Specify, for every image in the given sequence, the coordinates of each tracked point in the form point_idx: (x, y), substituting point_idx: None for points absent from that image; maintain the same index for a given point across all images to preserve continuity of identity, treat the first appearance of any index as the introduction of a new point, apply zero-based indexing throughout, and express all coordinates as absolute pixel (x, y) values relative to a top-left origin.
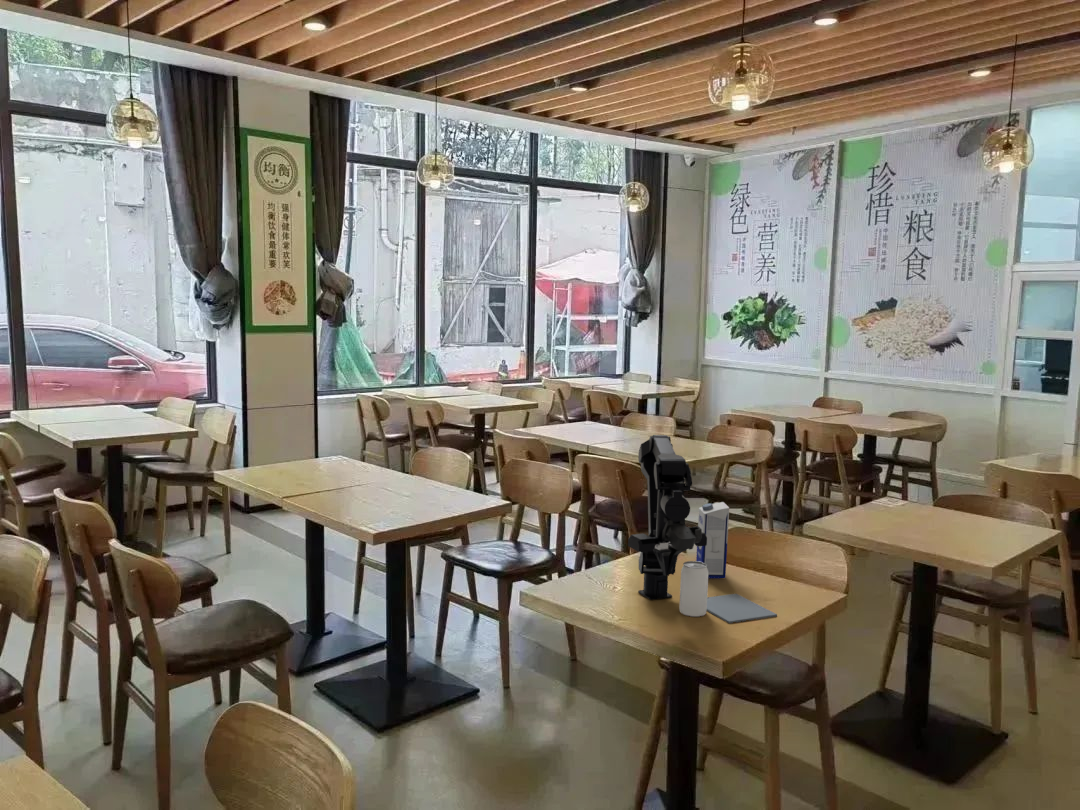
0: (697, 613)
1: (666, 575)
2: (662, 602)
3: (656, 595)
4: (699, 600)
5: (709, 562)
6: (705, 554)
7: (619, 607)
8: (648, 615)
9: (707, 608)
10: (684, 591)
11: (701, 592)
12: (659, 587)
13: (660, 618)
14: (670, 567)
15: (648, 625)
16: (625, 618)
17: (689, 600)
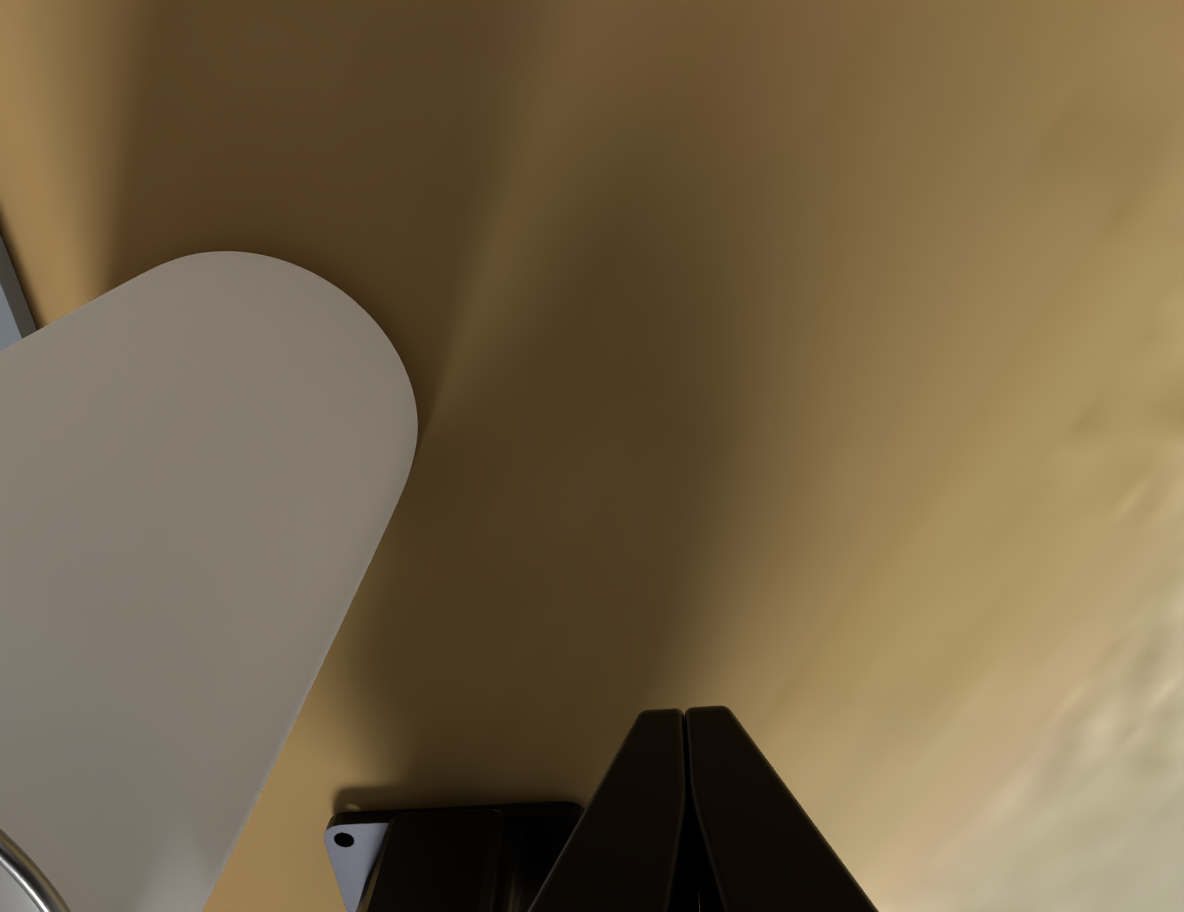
0: (240, 259)
1: (722, 709)
2: (481, 738)
3: (510, 840)
4: (134, 311)
5: None
6: None
7: (1001, 724)
8: (829, 454)
9: None
10: (316, 505)
11: (28, 356)
12: (476, 903)
13: (739, 332)
14: (631, 864)
15: (1032, 137)
16: (1155, 432)
17: (293, 368)
